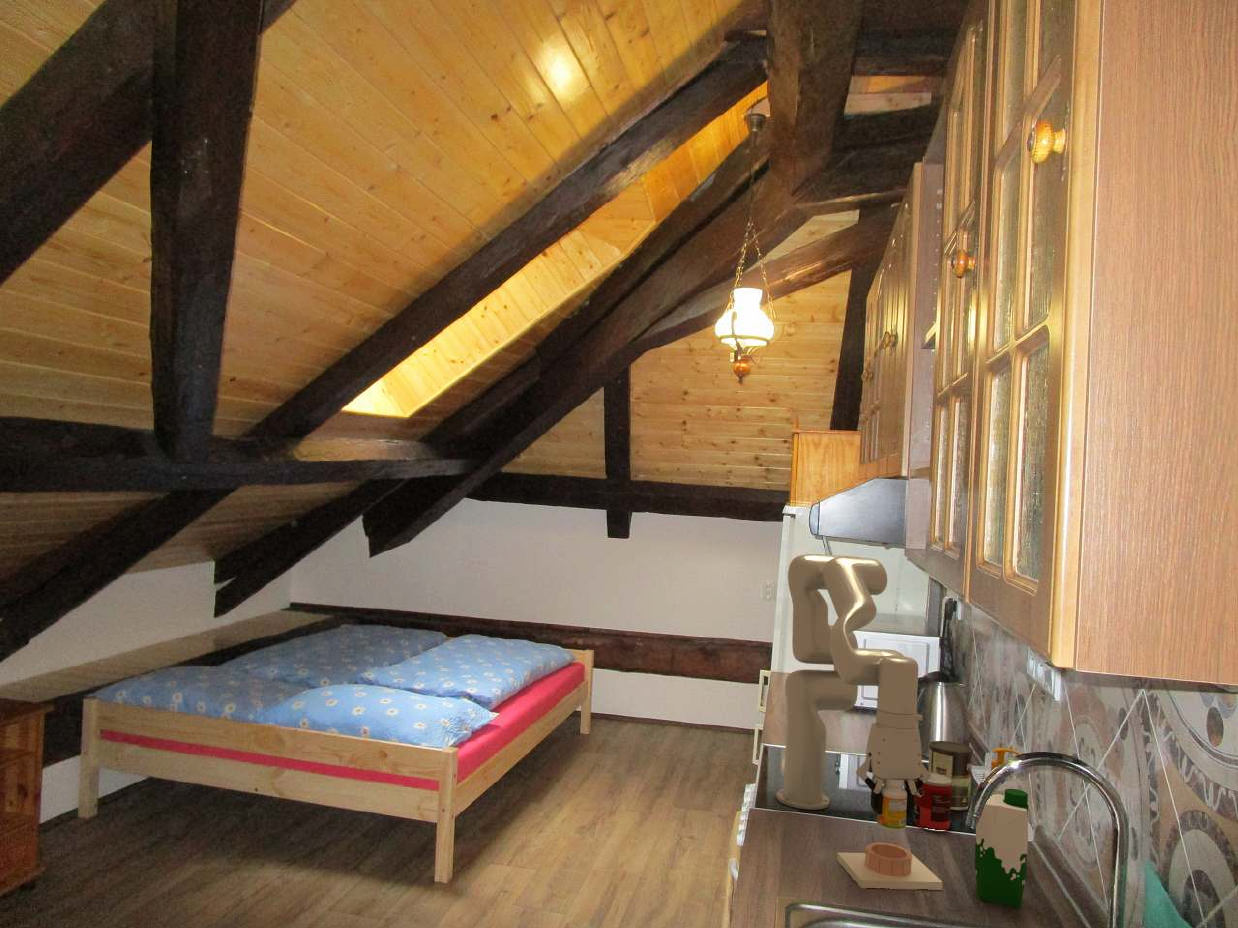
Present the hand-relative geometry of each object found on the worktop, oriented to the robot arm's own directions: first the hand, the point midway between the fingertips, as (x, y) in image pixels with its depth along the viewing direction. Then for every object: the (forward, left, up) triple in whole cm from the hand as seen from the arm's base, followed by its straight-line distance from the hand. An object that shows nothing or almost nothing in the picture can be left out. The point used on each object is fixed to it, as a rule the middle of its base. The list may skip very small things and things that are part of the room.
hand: (891, 811), depth 175 cm
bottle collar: (0, 0, -11) cm, 11 cm away
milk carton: (+9, +18, -13) cm, 24 cm away
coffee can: (-43, +34, -13) cm, 56 cm away
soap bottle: (-9, +28, -13) cm, 32 cm away
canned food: (-27, +22, -13) cm, 37 cm away
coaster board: (0, 0, -12) cm, 12 cm away
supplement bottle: (0, 0, -3) cm, 3 cm away
